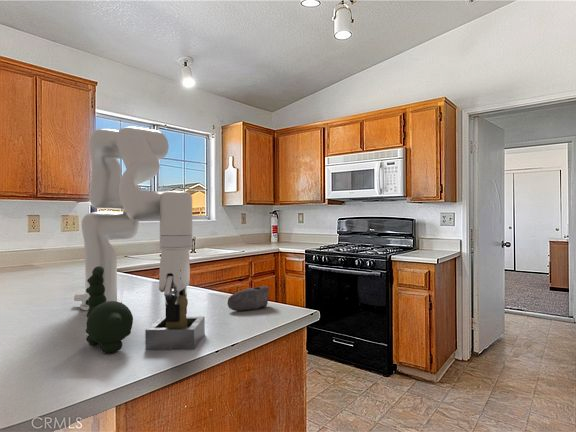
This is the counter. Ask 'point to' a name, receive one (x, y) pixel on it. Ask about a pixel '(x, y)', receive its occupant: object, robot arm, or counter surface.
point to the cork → (183, 318)
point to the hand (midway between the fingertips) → (176, 317)
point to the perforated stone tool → (249, 299)
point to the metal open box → (174, 335)
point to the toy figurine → (105, 316)
